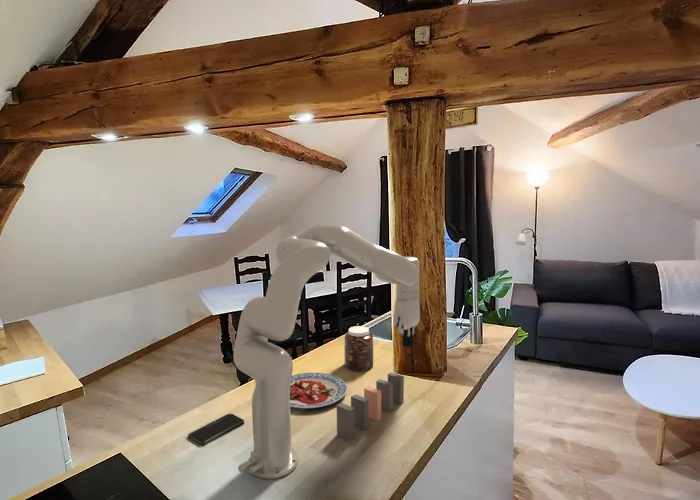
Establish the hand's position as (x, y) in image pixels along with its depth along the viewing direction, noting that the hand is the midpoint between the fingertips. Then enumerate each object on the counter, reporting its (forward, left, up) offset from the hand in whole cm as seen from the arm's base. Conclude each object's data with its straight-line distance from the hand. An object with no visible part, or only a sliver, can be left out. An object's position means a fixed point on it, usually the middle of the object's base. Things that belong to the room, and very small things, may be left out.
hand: (407, 346), depth 145 cm
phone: (-54, +32, -17) cm, 65 cm away
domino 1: (-33, 0, -17) cm, 37 cm away
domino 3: (-14, 0, -17) cm, 22 cm away
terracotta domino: (-20, 0, -17) cm, 26 cm away
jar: (+8, +27, -17) cm, 33 cm away
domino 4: (-7, 0, -17) cm, 18 cm away
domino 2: (-27, 0, -17) cm, 32 cm away
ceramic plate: (-21, +26, -17) cm, 38 cm away
